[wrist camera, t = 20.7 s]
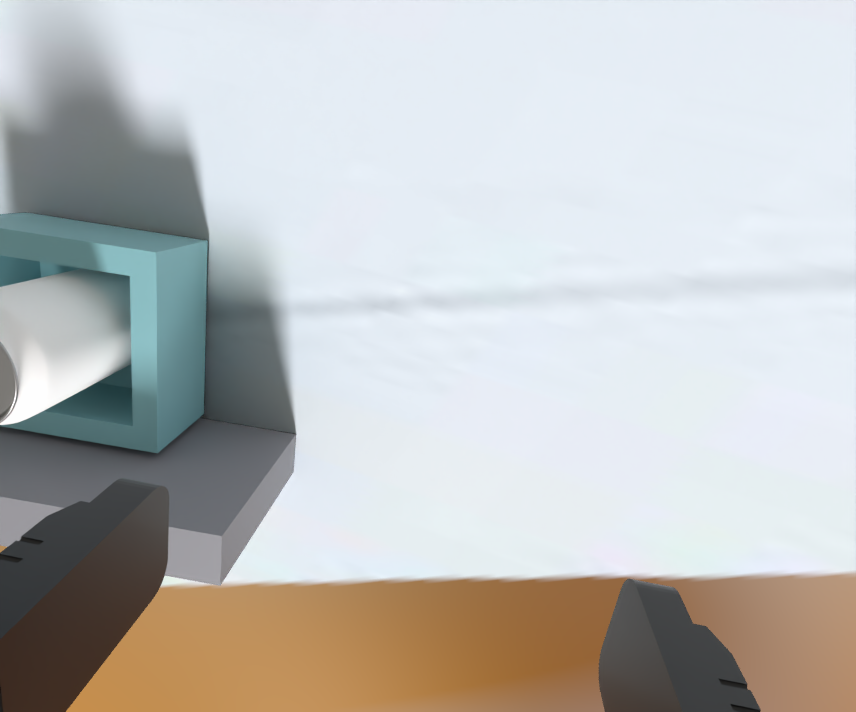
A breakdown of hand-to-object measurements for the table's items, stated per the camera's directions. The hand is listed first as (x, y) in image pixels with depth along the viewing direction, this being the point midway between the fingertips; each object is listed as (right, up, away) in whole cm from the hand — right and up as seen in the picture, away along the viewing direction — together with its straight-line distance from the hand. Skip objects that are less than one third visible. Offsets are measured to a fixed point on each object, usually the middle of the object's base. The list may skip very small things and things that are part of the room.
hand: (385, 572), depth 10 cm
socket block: (-20, +6, +28) cm, 35 cm away
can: (-19, +7, +28) cm, 34 cm away
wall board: (-18, -2, +31) cm, 36 cm away
